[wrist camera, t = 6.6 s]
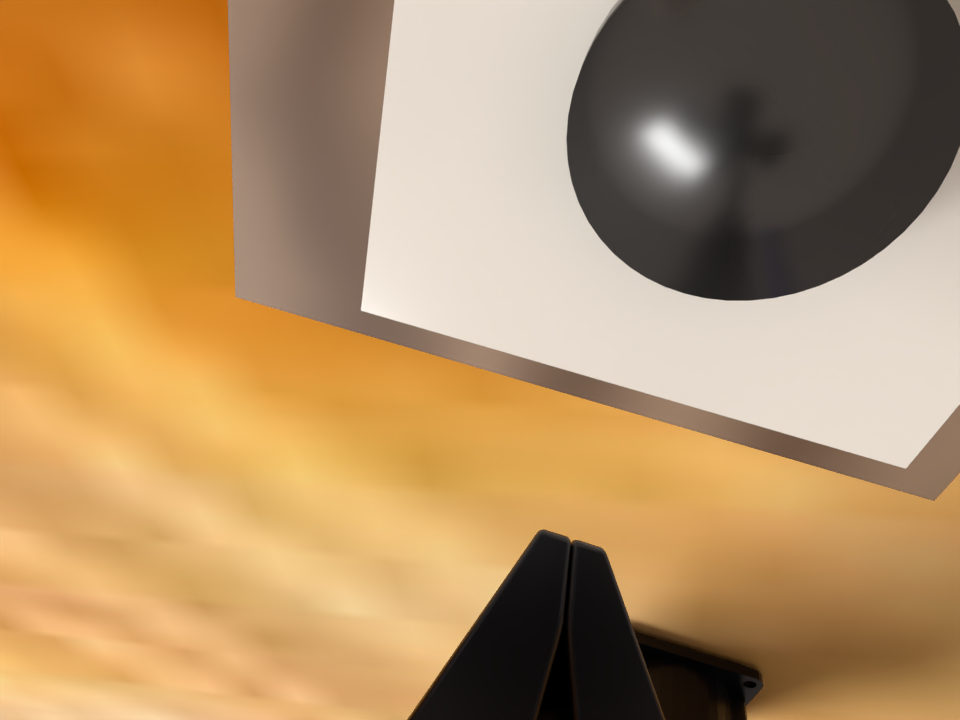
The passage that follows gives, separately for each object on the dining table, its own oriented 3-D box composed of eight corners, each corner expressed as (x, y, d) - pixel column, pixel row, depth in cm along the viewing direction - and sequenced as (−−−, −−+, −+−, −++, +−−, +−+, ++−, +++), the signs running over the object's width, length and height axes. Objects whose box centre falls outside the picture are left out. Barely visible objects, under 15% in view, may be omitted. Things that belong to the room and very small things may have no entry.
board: (2001, -763, 8) (2137, -824, 8) (925, 476, 22) (933, 500, 21) (236, -1097, 9) (197, -1180, 9) (250, 281, 23) (235, 296, 22)
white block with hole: (1142, -237, 12) (1539, -291, 6) (835, 276, 18) (905, 468, 12) (549, -378, 12) (452, -538, 7) (451, 170, 18) (360, 310, 13)
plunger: (893, -85, 13) (1070, -15, 7) (780, 152, 16) (842, 338, 10) (649, -146, 13) (632, -126, 8) (580, 98, 16) (529, 250, 10)
